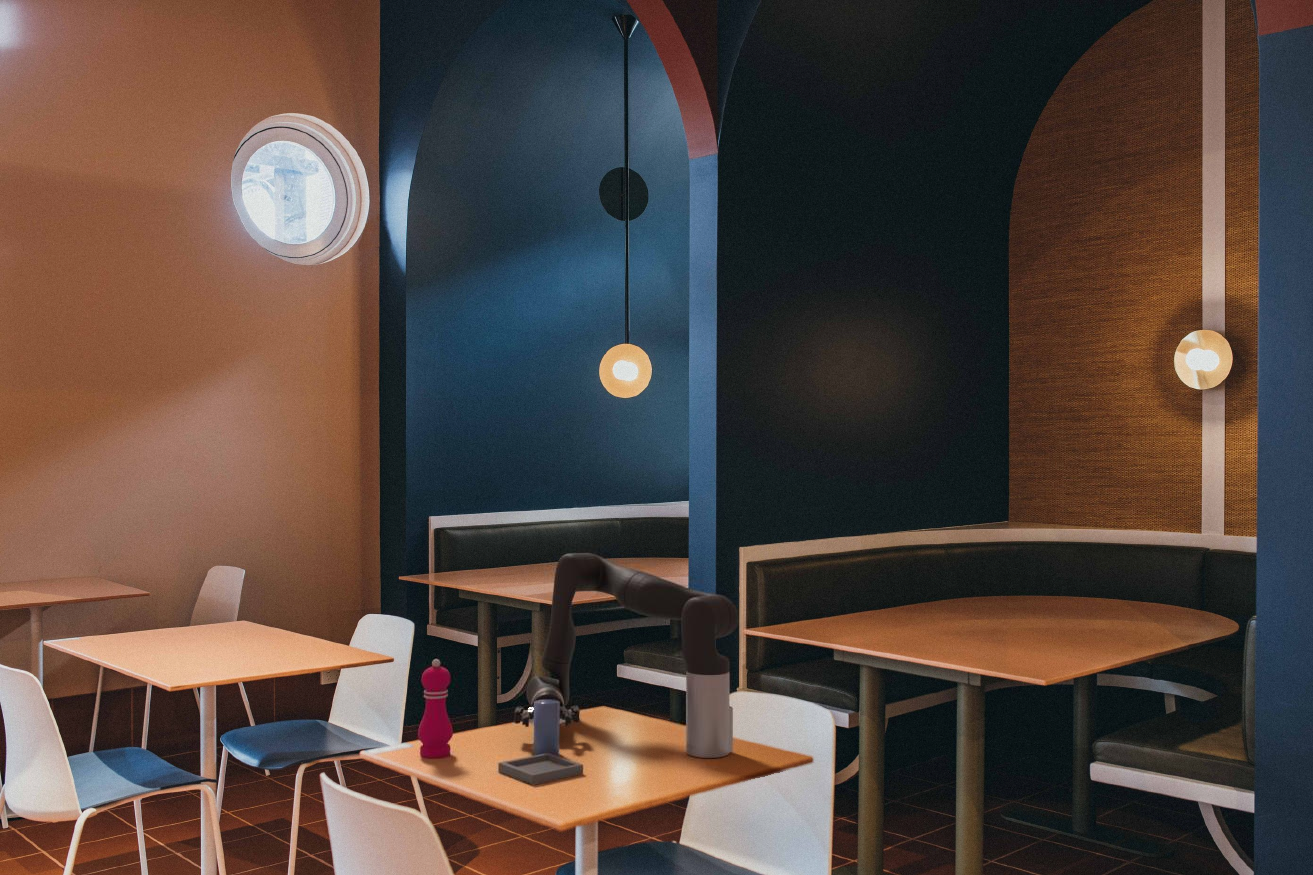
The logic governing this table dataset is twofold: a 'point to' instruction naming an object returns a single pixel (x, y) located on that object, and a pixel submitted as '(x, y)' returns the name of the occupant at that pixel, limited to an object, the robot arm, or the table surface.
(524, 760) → the tray
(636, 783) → the table surface
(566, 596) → the robot arm
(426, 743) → the pepper mill
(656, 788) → the table surface
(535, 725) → the blue-grey cylinder
